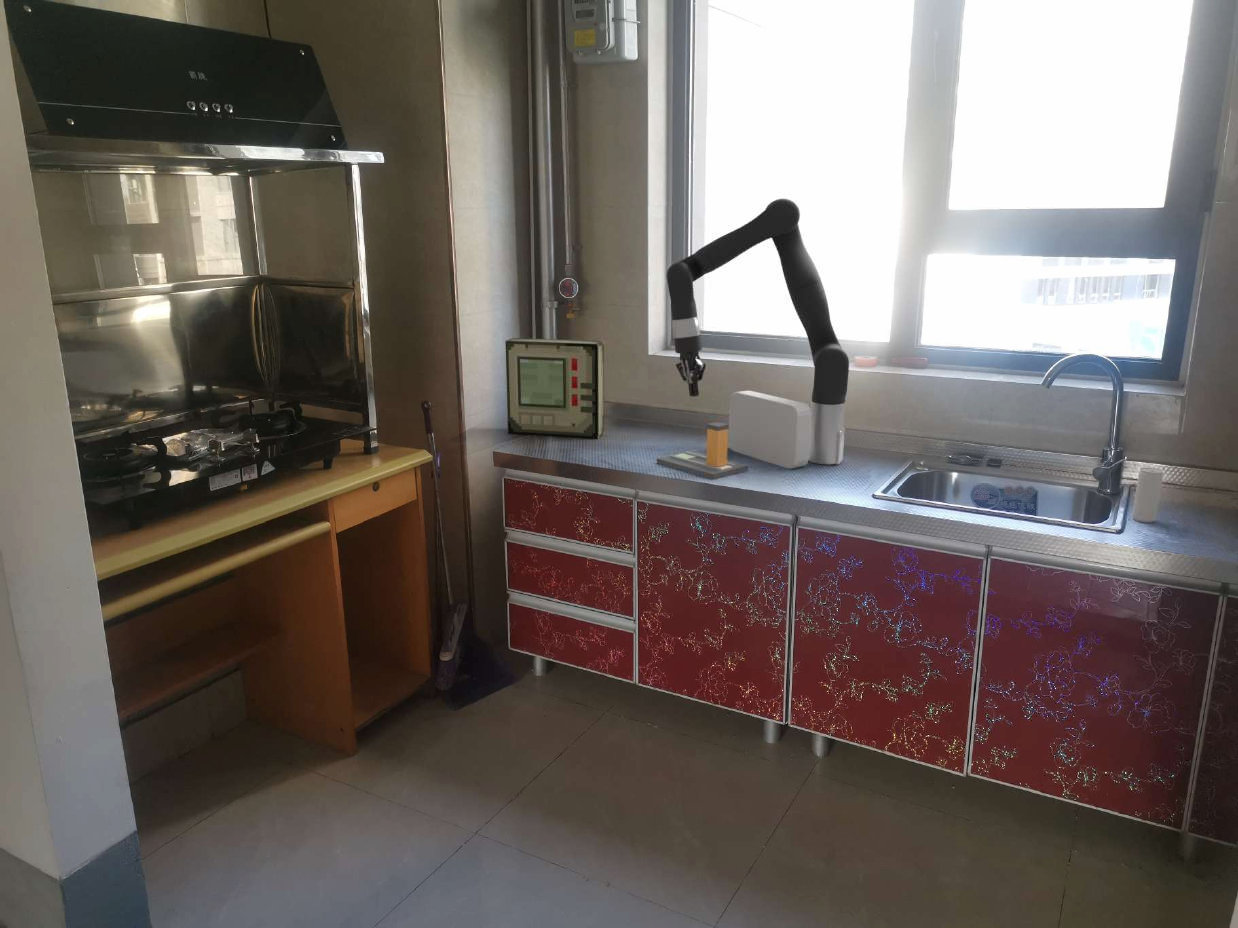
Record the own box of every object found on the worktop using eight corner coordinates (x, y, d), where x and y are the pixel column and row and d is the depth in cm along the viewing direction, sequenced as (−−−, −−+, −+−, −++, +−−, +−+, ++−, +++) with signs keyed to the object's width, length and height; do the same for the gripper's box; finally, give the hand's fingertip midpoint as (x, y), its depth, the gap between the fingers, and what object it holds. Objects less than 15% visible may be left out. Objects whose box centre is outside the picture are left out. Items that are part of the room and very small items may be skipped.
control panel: (508, 434, 294) (505, 340, 286) (516, 429, 301) (513, 338, 293) (597, 439, 287) (597, 344, 279) (604, 434, 294) (603, 341, 286)
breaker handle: (705, 463, 251) (706, 424, 248) (716, 461, 253) (717, 421, 251) (716, 466, 248) (718, 426, 245) (727, 464, 250) (728, 424, 248)
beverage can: (1147, 516, 214) (1155, 467, 210) (1160, 523, 209) (1168, 472, 206) (1127, 516, 213) (1135, 467, 210) (1139, 523, 209) (1147, 472, 206)
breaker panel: (656, 463, 259) (656, 456, 258) (691, 455, 268) (691, 448, 267) (713, 479, 243) (713, 472, 242) (748, 470, 252) (748, 463, 251)
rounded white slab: (814, 467, 256) (818, 404, 251) (794, 470, 252) (798, 406, 247) (746, 446, 279) (749, 388, 274) (727, 449, 275) (729, 390, 270)
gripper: (710, 332, 250) (718, 394, 253) (686, 333, 262) (693, 392, 265) (687, 336, 247) (695, 399, 250) (663, 337, 259) (671, 397, 262)
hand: (694, 396), depth 258 cm, fingers closed
